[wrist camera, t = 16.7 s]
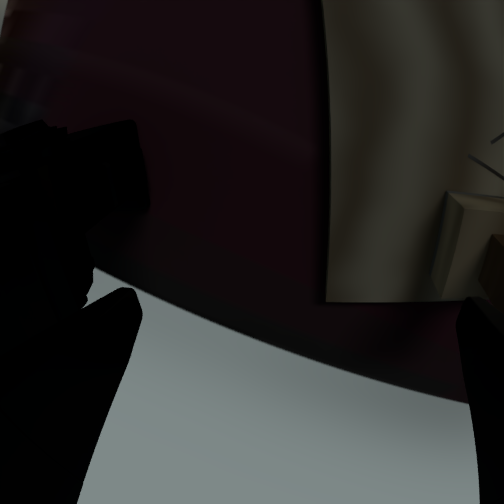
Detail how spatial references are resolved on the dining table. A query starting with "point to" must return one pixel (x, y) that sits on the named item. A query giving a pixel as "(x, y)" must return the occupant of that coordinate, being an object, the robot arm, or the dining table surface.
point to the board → (407, 135)
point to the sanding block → (470, 248)
